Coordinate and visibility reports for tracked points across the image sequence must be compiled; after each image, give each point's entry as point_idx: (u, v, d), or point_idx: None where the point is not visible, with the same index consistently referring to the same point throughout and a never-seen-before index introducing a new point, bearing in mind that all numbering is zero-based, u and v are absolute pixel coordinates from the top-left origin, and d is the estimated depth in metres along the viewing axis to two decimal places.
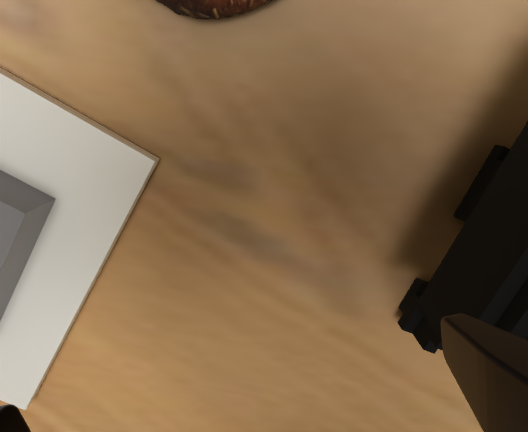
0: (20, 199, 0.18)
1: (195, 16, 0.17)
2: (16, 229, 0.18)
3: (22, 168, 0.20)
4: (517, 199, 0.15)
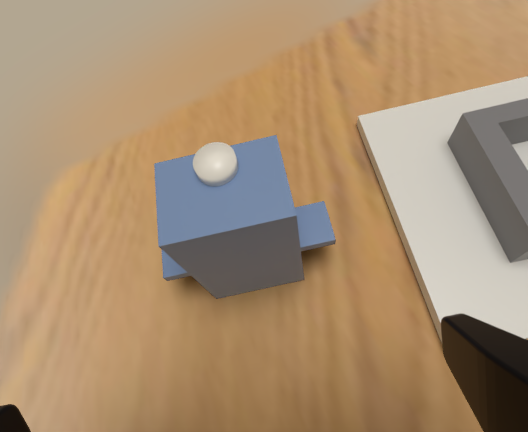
0: None
1: None
2: None
3: None
4: None
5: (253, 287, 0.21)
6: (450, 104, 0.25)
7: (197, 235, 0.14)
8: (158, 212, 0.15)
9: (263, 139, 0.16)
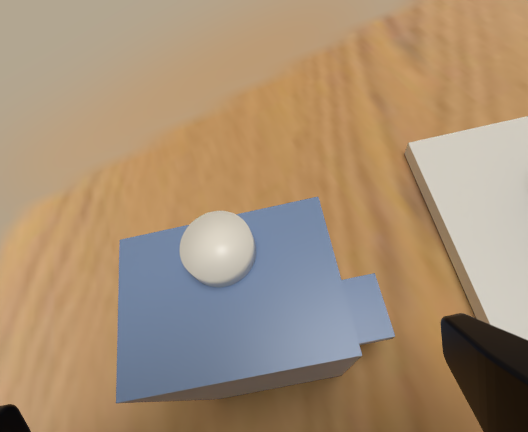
0: None
1: None
2: None
3: None
4: None
5: (270, 388, 0.15)
6: None
7: (184, 385, 0.08)
8: (120, 329, 0.09)
9: (297, 203, 0.10)
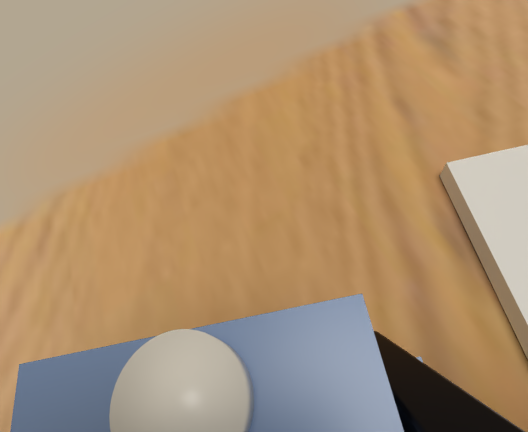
0: None
1: None
2: None
3: None
4: None
5: None
6: None
7: None
8: None
9: (325, 305, 0.05)
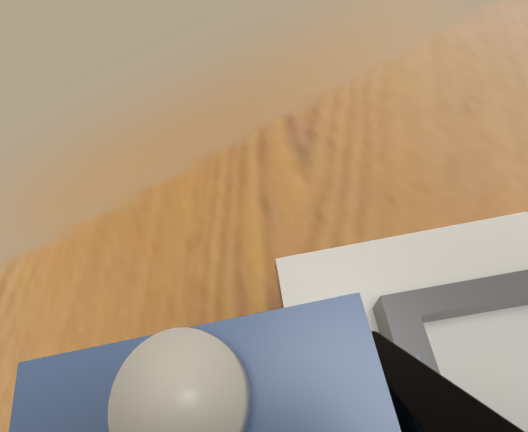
0: None
1: None
2: None
3: None
4: None
5: None
6: (382, 252, 0.21)
7: None
8: None
9: (322, 304, 0.05)
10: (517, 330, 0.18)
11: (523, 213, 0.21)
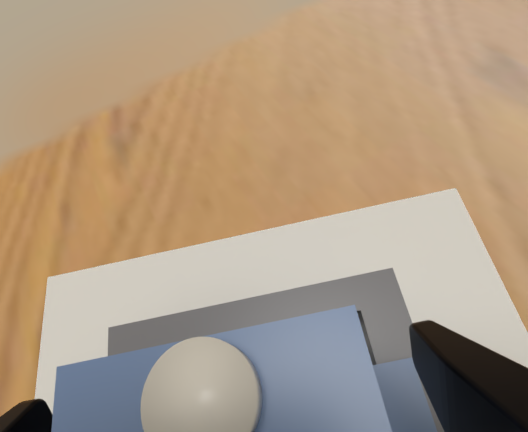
0: None
1: None
2: None
3: None
4: None
5: None
6: (170, 267, 0.17)
7: None
8: None
9: (323, 315, 0.06)
10: None
11: (339, 214, 0.17)
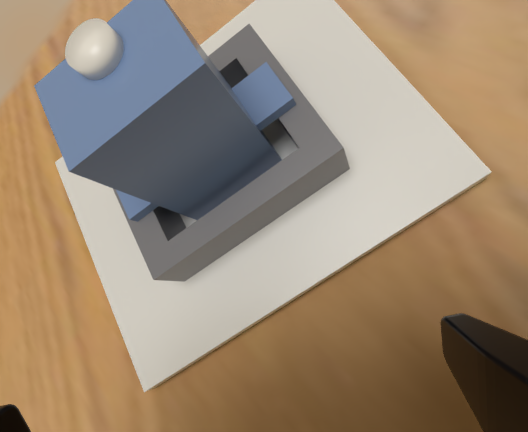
0: None
1: None
2: (322, 160, 0.15)
3: (336, 128, 0.18)
4: None
5: (232, 193, 0.19)
6: None
7: (104, 140, 0.11)
8: (57, 136, 0.12)
9: None
10: None
11: (226, 24, 0.22)
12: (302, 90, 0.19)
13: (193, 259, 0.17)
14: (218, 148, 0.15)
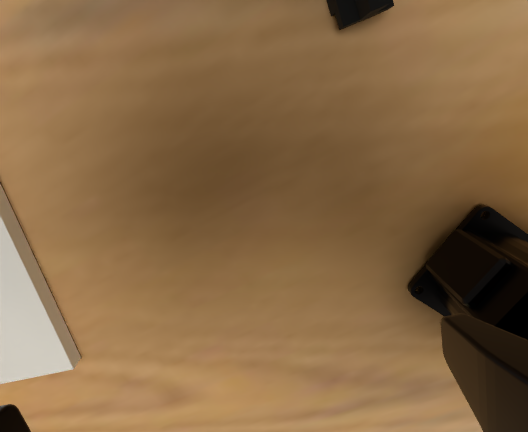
0: None
1: None
2: None
3: None
4: None
5: None
6: None
7: None
8: None
9: None
10: None
11: None
12: None
13: None
14: None
